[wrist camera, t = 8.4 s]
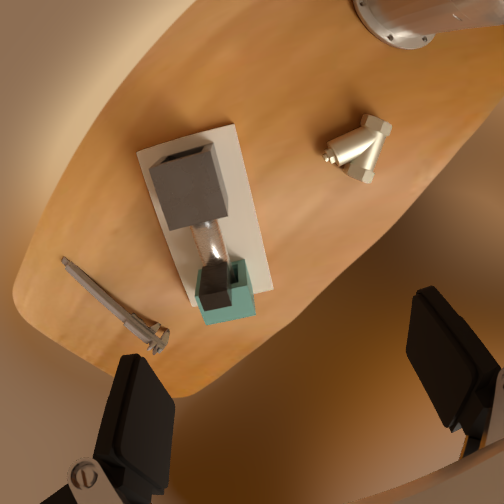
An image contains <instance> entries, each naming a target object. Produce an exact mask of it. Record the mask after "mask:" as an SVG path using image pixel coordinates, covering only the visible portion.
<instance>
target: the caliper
mask: <svg viewBox="0 0 504 504" xmlns="http://www.w3.org/2000/svg"><path fill="white" fill-rule="evenodd" d="M62 263H63V264H64V265H65V266H66V268H65V269H66V270H67V271H68V272H69V273H70V274H71V275H72V276H73V277H74V278H75V279H76V280H77V281H78V282H79V283H80V284H81V285H82V286H83V287H84V288H85V289H86V290H87V291H88V292H89V293H91V294H92V295H93V296H94V297H95V298H96V299H97V300H98V301H99V302H100V303H102V304H103V305H104V306H105V307H106V308H107V309H108V310H109V311H111V312H112V313H113V314H114V315H115V316H116V317H118V318H119V319H120V320H121V321H122V322H123V323H124V326H125V327H126V328H128V329H129V330H130V331H131V332H132V333H134V334H135V335H136V336H137V337H138V338H140V339H141V340H142V341H143V342H145V343H146V344H148V343H149V345H150V346H149V347H148V349H147V350H151V349H152V348H153V347H154V349H153V355H155V354H156V353H157V352H158V353H160V352H161V351H163V349H164V348H165V346H166V345H167V343H168V339H169V334H170V331H169V329H167V330H166V331H165V332H164V333H163V335H162V336H161V338H159V337H157V336H156V335H155V333H156V332H157V330H158V329H159V328H160V325H161V324H160V323H157V324H155V325H153V326H151V327H150V328H149V327H147V326H146V325H145V323H144V322H143V320H142V319H140V318H139V317H137V315H136V314H135V313H132V315H131V314H130V313H128V312H127V311H126V310H125V309H124V308H123V307H121V306H120V305H119V304H118V303H117V302H116V301H114V300H113V299H112V298H111V297H110V296H109V295H108V294H107V293H105V292H104V291H103V290H102V289H101V288H100V287H99V286H98V285H97V284H96V283H95V282H94V281H92V280H91V279H90V278H89V277H88V276H87V275H86V274H85V273H84V272H83V271H82V270H81V269H80V268H79V267H78V266H76V265H75V264H74V263H73V262H70V261H69V260H68V259H67V258H66V257H63V259H62Z"/></svg>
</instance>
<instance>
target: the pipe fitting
mask: <svg viewBox="0 0 504 504" xmlns="http://www.w3.org/2000/svg"><path fill="white" fill-rule="evenodd" d="M360 125H361V127H359V128H357V129H355V130H352V131H350V132H348V133H346V134H344V135H341V136H339V137H337V138H335V139H332V140H330V141H328V142H327V146H328V148H327V149H325V150H324V151H325V154H323V155H322V156H323V158H324V160H325V162H327V161H329V162H330V163H334V162H335V163H336V164H337V165H338V166H341V165H343V164H345V166H344V169H343V172H344V173H345V174H346V175H348V176H350V177H352V178H355V179H357V180H359V181H362V182H365V183H371V182H372V179H373V177H374V174H375V173H374V172H373V170H374V168H375V165H376V162H377V160H378V157H379V155H380V152H381V149H382V147H383V144H384V141H385V138H386V136H389V134H390V132H391V129H392V125H391V124H390V123H388V122H386V121H384V120H382V119H380V118H377V117H375V116H372V115H369V114H363V116H362V119H361V122H360Z"/></svg>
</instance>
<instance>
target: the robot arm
mask: <svg viewBox="0 0 504 504" xmlns="http://www.w3.org/2000/svg"><path fill="white" fill-rule="evenodd" d="M353 3H354V7H355V9H356V12H357V14H358V16H359V18H360V19H361V21H362V22H363V24H364V25H365V26H366V27H367V29H368V30H369V31H370V32H371V33H372V34H373V35H374V36H376V37H377V38H378V39H380V40H381V41H383V42H384V43H386V44H388V45H390V46H393V47H396V48H399V49H407V50H408V49H416V48H421V47H423V46H425V45H427V44H428V43H429V42H431V40H432V39H433V38H434V36H435V34H436V33H441V32H447V31H454V30H461V29H469V28H477V27H488V26H497V25H503V24H504V0H353ZM360 4H361V5H360ZM387 37H388V38H389V39H388V38H387ZM406 353H407V357H408V359H409V360H410V362H411V364H412V366H413V368H414V370H415V371H416V373H417V375H418V377H419V379H420V381H421V382H422V384H423V386H424V388H425V390H426V392H427V394H428V396H429V398H430V400H431V402H432V403H433V405H434V407H435V409H436V411H437V413H438V415H439V417H440V419H441V421H442V423H443V425H444V426H445V427H446V428H448V427H449V429H450V431H451V433H453V432H455V431H457V430H459V429H461V428H462V429H463V431H464V433H465V435H466V436H465V440H464V443H463V447H462V450H461V453H460V457H459V460H458V461H456V462H454V463H452V464H450V465H448V466H446V467H444V468H442V469H439V470H437V471H435V472H432V473H430V474H428V475H426V476H423V477H421V478H419V479H416V480H414V481H411V482H409V483H406V484H404V485H401V486H398V487H396V488H393V489H390V490H387V491H384V492H381V493H378V494H375V495H372V496H369V497H366V498H362V499H359V500H356V501H352V502H348V503H345V504H504V368H502V369H501V367H500V366H499V365H498V363H497V362H496V361H495V359H494V358H493V356H492V355H491V354H490V353H489V351H488V350H487V348H486V347H485V346H484V344H483V343H482V342H481V340H480V339H479V338H478V337H477V335H476V334H475V333H474V331H473V330H472V329H471V328H470V326H469V325H468V324H467V323H466V321H465V320H464V319H463V318H462V317H461V316H459V315H458V314H457V313H456V311H455V310H454V309H453V308H452V307H451V305H450V304H449V303H448V302H447V301H446V299H445V298H444V297H443V296H442V295H441V294H440V292H439V291H438V290H437V289H436V288H435V287H434V286H429V287H426V288H423V289H420V290H418V291H417V292H416V295H415V296H413V300H412V308H411V317H410V324H409V332H408V338H407V345H406ZM174 415H175V404H174V401H173V400H172V398H171V396H170V395H169V394H168V392H167V391H166V389H165V388H164V386H163V385H162V383H161V382H160V380H159V379H158V377H157V376H156V374H155V373H154V371H153V370H152V368H151V367H150V365H149V364H148V362H147V360H146V359H145V358H144V357H141V356H140V355H139V354H129V355H123V356H121V358H120V361H119V365H118V368H117V371H116V374H115V378H114V381H113V384H112V388H111V391H110V395H109V397H108V400H107V403H106V407H105V411H104V414H103V418H102V422H101V426H100V429H99V433H98V437H97V442H96V445H95V450H94V454H93V458H89V457H84V458H80V459H78V460H76V461H75V462H74V463H73V464H72V465H71V466H70V468H69V470H68V473H67V481H68V484H67V485H65V486H64V487H62V488H61V489H60V490H58V491H57V492H55V493H54V494H53V495H51V496H50V497H48V498H47V499H46V500H44V501H43V502H41V503H40V504H152V503H151V496H152V494H153V495H164V488H167V487H168V482H169V469H170V456H171V444H172V435H173V424H174Z"/></svg>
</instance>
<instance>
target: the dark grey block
mask: <svg viewBox="0 0 504 504" xmlns="http://www.w3.org/2000/svg"><path fill="white" fill-rule="evenodd" d="M149 172H150V175H151V178H152V181H153V184H154V187H155V191H156V194H157V196H158V199H159V202H160V205H161V208H162V211H163V214H164V217H165V220H166V223H167V225H168V228H169V231H172V230H176V229H180V228H183V227H187V226H191V225H195V224H199V223H203V222H207V221H211V220H215V219H219V218H223V217H228V195H227V191H226V188H225V184H224V180H223V176H222V173H221V169H220V165H219V161H218V157H217V154H216V150H215V146H214V142H213V143H209V144H205V145H202V146H198V147H194V148H191V149H187V150H184V151H180V152H177V153H173V154H170V155H167V156H164V157H161V158H160V159H159V160H158V161H156V162H155V163H154V164H153V165H152V166H151V167H150V168H149Z"/></svg>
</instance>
